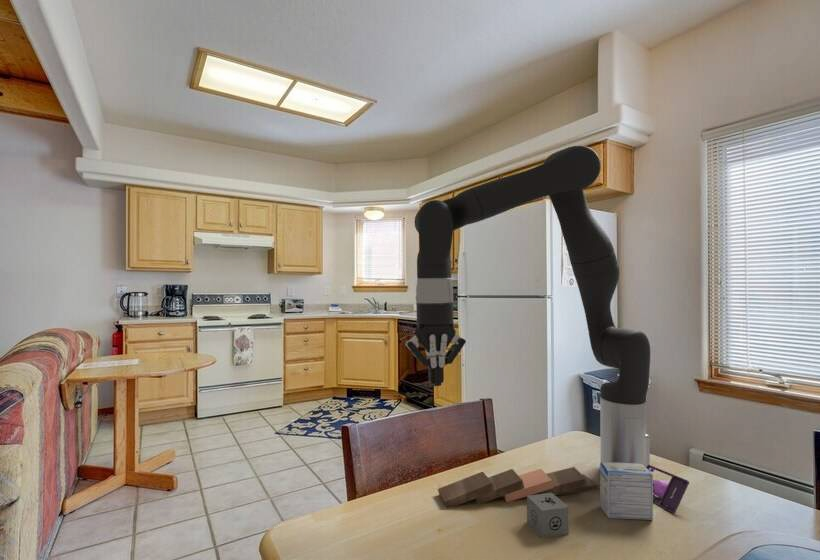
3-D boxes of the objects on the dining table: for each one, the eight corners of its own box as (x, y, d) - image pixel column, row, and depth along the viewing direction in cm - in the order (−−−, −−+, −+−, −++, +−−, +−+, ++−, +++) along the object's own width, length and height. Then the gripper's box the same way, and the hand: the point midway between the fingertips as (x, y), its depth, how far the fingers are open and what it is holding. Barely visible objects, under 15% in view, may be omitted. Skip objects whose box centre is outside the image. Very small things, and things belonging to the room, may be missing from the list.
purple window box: (670, 510, 77) (631, 490, 85) (688, 525, 78) (647, 504, 86) (686, 478, 79) (645, 462, 87) (702, 493, 80) (661, 475, 88)
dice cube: (568, 536, 70) (568, 506, 71) (542, 540, 69) (542, 510, 69) (551, 520, 75) (551, 492, 75) (527, 523, 74) (526, 495, 74)
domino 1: (439, 496, 83) (484, 478, 85) (447, 509, 79) (494, 490, 81) (437, 488, 83) (482, 471, 85) (444, 501, 78) (492, 482, 81)
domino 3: (498, 489, 86) (542, 475, 87) (506, 502, 81) (553, 487, 82) (496, 482, 86) (540, 468, 87) (504, 494, 81) (552, 480, 82)
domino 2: (469, 492, 85) (514, 476, 87) (477, 505, 80) (524, 487, 82) (467, 484, 85) (512, 468, 87) (475, 497, 80) (522, 480, 82)
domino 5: (543, 486, 89) (583, 481, 92) (556, 498, 84) (598, 492, 87) (543, 479, 89) (583, 474, 92) (556, 490, 84) (598, 484, 87)
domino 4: (530, 484, 88) (575, 474, 89) (540, 497, 83) (587, 486, 84) (529, 477, 88) (574, 466, 89) (538, 490, 83) (586, 478, 84)
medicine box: (642, 508, 79) (642, 462, 79) (653, 521, 75) (653, 473, 75) (599, 506, 80) (599, 461, 80) (608, 519, 76) (608, 471, 76)
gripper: (408, 302, 79) (409, 393, 79) (472, 300, 83) (473, 387, 83) (398, 300, 86) (400, 383, 86) (458, 298, 90) (459, 378, 90)
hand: (436, 385), depth 85 cm, fingers closed
